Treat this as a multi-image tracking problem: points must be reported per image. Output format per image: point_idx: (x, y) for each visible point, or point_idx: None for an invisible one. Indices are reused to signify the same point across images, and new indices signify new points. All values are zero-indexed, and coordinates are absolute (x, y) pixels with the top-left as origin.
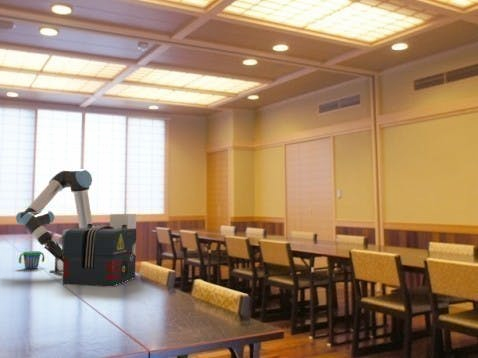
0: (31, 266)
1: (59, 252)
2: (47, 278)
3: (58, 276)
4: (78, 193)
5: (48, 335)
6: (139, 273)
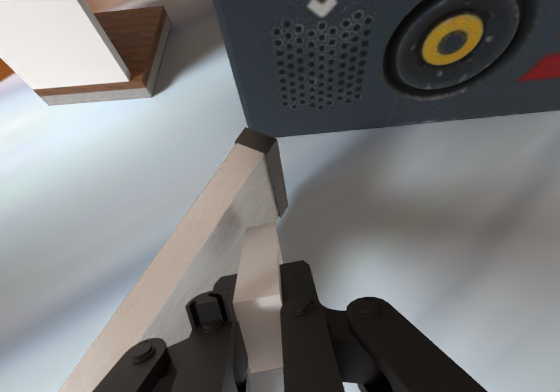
0: None
1: (296, 376)
2: (493, 374)
3: None
4: None
5: None
6: None
